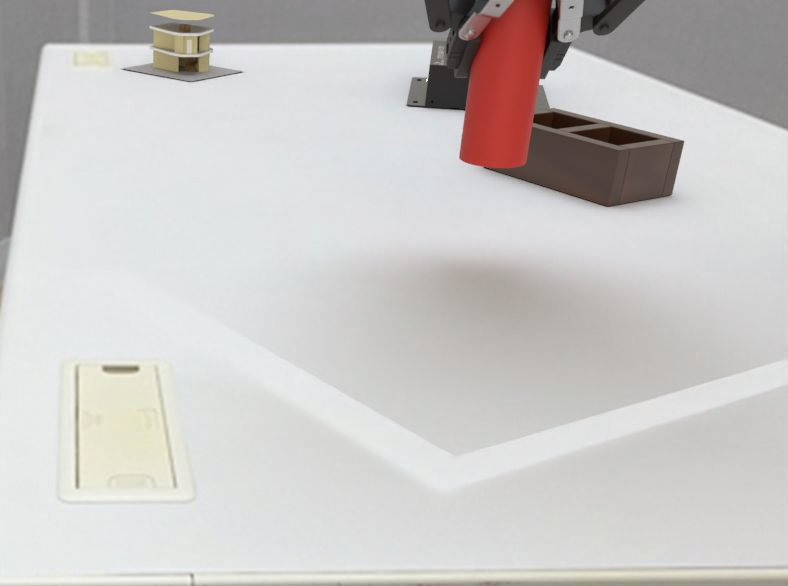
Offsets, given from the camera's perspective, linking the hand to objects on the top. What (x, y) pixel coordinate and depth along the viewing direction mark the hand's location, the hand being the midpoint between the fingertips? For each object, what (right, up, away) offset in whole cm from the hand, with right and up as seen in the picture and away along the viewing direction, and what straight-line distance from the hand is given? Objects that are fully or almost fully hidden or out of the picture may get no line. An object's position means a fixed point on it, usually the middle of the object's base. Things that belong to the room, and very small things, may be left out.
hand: (498, 64), depth 72 cm
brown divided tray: (+12, +1, +23) cm, 26 cm away
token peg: (0, -5, +1) cm, 5 cm away
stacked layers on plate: (-20, +25, +60) cm, 68 cm away
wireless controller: (+11, +20, +54) cm, 59 cm away
